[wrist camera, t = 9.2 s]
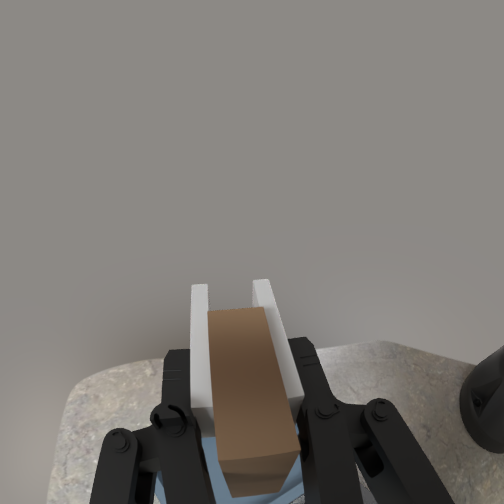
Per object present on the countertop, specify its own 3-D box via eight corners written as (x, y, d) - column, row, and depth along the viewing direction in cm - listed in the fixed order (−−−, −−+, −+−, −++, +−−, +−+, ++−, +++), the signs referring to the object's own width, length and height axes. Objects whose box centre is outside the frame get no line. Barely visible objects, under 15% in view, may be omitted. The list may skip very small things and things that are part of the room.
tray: (267, 395, 30) (268, 382, 29) (338, 467, 22) (346, 459, 20) (140, 457, 22) (131, 447, 21) (199, 550, 14) (194, 551, 12)
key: (221, 430, 17) (199, 311, 11) (261, 425, 17) (270, 305, 11) (231, 508, 12) (206, 461, 6) (277, 502, 12) (311, 447, 6)
